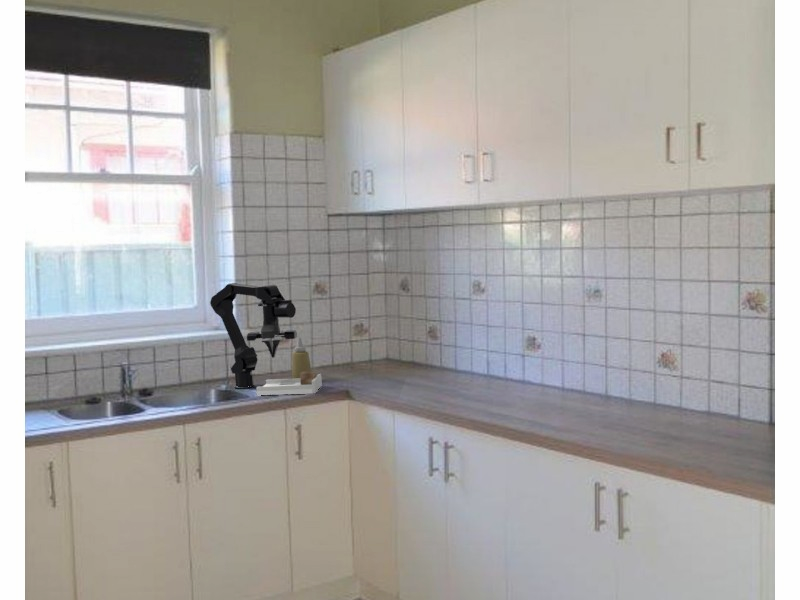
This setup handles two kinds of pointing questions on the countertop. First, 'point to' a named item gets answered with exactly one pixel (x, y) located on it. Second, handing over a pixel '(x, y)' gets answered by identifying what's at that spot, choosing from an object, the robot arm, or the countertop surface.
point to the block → (307, 377)
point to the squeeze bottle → (300, 360)
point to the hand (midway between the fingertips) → (273, 357)
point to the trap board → (289, 386)
